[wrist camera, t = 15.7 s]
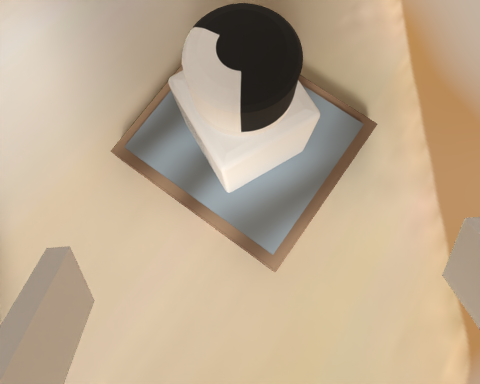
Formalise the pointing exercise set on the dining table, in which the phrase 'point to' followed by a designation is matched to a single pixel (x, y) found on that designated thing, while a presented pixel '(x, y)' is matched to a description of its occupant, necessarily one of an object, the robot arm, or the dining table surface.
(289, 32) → the container
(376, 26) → the dining table surface
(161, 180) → the wooden framed tray
